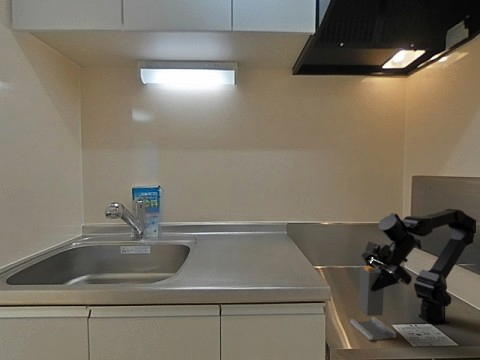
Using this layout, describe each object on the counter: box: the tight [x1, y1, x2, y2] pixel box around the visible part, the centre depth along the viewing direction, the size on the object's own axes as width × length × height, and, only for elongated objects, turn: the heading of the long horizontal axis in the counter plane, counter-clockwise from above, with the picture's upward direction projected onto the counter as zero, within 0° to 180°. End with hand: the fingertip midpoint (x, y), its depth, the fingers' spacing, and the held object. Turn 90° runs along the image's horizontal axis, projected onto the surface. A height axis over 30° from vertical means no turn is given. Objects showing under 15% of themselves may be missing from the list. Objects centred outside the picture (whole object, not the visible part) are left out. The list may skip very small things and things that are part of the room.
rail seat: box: [349, 316, 397, 342], centre depth 100 cm, size 8×11×2 cm
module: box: [358, 265, 385, 317], centre depth 100 cm, size 5×5×14 cm
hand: (367, 287), depth 100 cm, fingers closed on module, 5 cm apart
